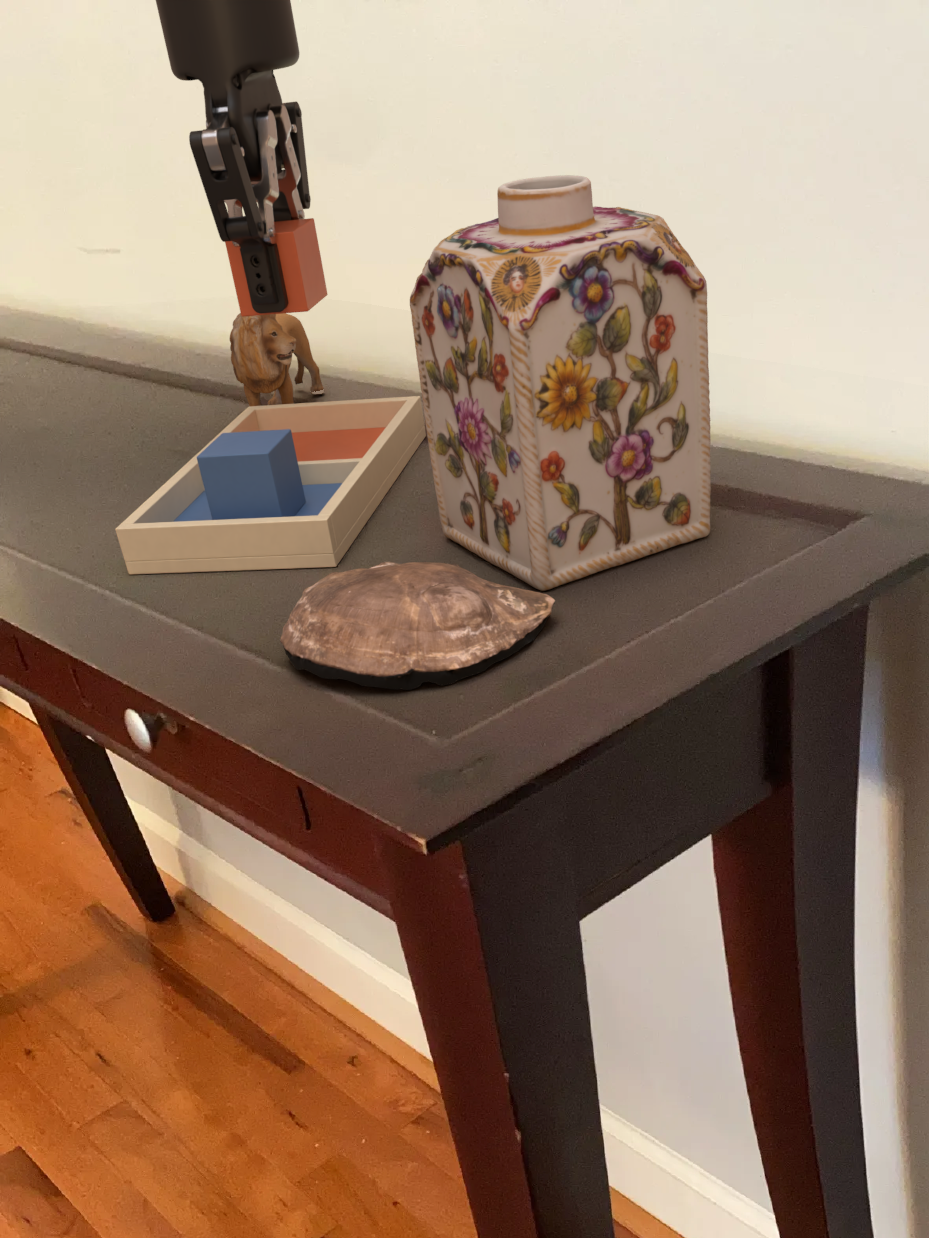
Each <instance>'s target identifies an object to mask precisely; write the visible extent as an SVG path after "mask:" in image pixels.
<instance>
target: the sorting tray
mask: <svg viewBox="0 0 929 1238" xmlns="http://www.w3.org/2000/svg"><path fill="white" fill-rule="evenodd" d="M284 429H291V432H292V437H293V442H294V447H295V452H296V457H297V461H298V466H299V471H300V476H301V481H302V486H303V490H304V495H305V500H306V502H305V503H304V505H303V506H302V507H301V508H300V510H299V511H298V512H297V513H296V515H295V516H293V517H270V518H248V519H225V520H212V516H211V512H210V508H209V504H208V501H207V497H206V493H205V489H204V485H203V481H202V477H201V473H200V469H199V465H198V461H197V456H198V455H199V454H200V453H201V452H202V451H204V450H205V449H206V448H207V447H208V446H209V445H210V444H211V443H212V442H213V441H214V440H215V439H217V438H218V437H219V436H220V435H221V434H222V433H233V432H250V431H267V430H284ZM426 437H427V431H426V424H425V417H424V410H423V403H422V396H420V395H412V396H395V397H381V398H364V399H348V400H347V399H346V400H332V401H316V402H314V401H313V402H301V403H294V404H281V405H268V404H267V405H262V406H249V405H248V406H247V407H246V408H245V409H244V410H243V411H241V413H240V414H239V415H237V416H236V417H235V418H234V419H233V420H232V421H231V422H230V423H228V424H227V426H226V427H224V428H223V429H222V430H221V431H220V432H219V433H218V434H217V435H216V436H214V438H212V439H211V440H210V441H209V442H208V443H207V444H206V445H205V446H204V447H203V448H201V450H199V452H197V453H196V454H195V455H194V456H193V457H192V458H191V459H190V460H188V461H187V463H185V464H184V465H183V466H182V467H181V468H180V469H178V471H176V473H174V474H173V475H172V476H171V477H170V478H169V479H168V480H167V481H165V483H164V484H163V485H161V486H160V487H159V488H158V489H157V490H156V491H155V492H153V493H152V495H150V497H148V498H147V499H146V500H145V501H144V502H143V503H142V504H141V505H139V506H138V507H137V508H136V509H135V510H134V511H133V512H132V513H131V514H129V515H128V516H127V518H126V519H124V520H123V521H122V522H121V523H119V525H118V526H117V527H115V533H116V536H117V540H118V543H119V547H120V551H121V553H122V557H123V559H124V562H125V566H126V570H127V573H128V575H151V574H178V573H179V574H181V573H207V572H230V571H231V572H233V571H235V572H236V571H257V570H258V571H260V570H261V571H262V570H264V571H265V570H289V569H315V568H317V569H318V568H336V567H338V565H339V563H340V562H341V560H342V559H343V558H344V556H345V555H346V553H347V552H348V551H349V549H350V547H351V546H352V544H353V543H354V542H355V540H356V539H357V537H358V536H359V534H360V533H361V531H362V530H363V529H364V527H365V525H366V524H367V522H368V521H369V520H370V518H372V516H373V514H374V513H375V512H376V509H377V508H378V507H379V505H380V504H381V502H382V501H383V499H384V498H385V497H386V495H387V493H388V492H389V491H390V489H391V488H392V486H393V485H394V483H395V482H396V480H397V479H398V477H399V476H400V475H401V473H402V471H403V470H404V469H405V467H406V466H407V465H408V463H409V461H410V460H411V459H412V457H413V456H414V454H416V453H415V452H416V451H417V450H418V449H419V447H420V446H421V444H422V443H423V441H424V440H425V438H426Z"/></svg>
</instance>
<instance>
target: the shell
mask: <svg viewBox="0 0 929 1238" xmlns="http://www.w3.org/2000/svg"><path fill="white" fill-rule="evenodd" d="M301 594H302V595H301V597H300V598H299V599H298V600H297V602H296V603H295V605H294V607H293V609H292V610H291V612H290V614H289V617H288V619H287V621H286V623H285V624H284V626H283V627H282V633H281V635H280V638H279V641H280V643H281V644H282V646H283V651H284V652H285V655H286V656H287V658H288V660H289V662H290V663H291V665H292V666H293V668H294V669H295V670H297V671H299V670H301V671H302V670H305V671H307V672H309V673H311V674H313V675H315V676H318V677H319V678H320V679H328V680H338V679H340V680H345V681H348V682H351V683H354V684H357V685H359V686H361V687H367V688H369V687H371V688H378V689H387V690H398V691H399V690H402V691H403V690H404V691H406V690H407V691H411V690H415V689H417V688H419V687H421V686H422V684H423V683H429V682H430V683H432V684H437V685H438V686H447V685H452V684H451V683H453V684H454V683H456V682H457V681H462V680H463V679H465V678H466V677H472V676H473V675H474V676H477V675H478V674H481V673H482V672H486V670H487V669H488V668H490V666H493V665H494V664H496V663H498V662H502V661H503V660H505V659H507V658H509V657H511V656H512V655H514V654H515V653H518V652H519V651H520V650H521V649H522V648H524V647H525V645H528V644H529V643H532V642H534V641H535V640H536V638H537V636H538V635H539V634H540V632H541V631H542V630H543V628H544V627H545V625H546V623H547V621H548V618H549V617H550V616H551V615H552V612H553V611H552V610H553V608H554V605H555V603H556V600H555V599H554V598H553V596H550V595H549V594H547V593H544V592H543V593H542V592H541V591H540V592H539V591H534V590H528V589H524V588H519V587H516V586H508V585H504V584H499V583H495V582H493V581H490V580H486V579H484V578H481V577H479V576H477V575H476V574H474V573H473V572H472V571H469V570H468V569H465V568H463V567H461V566H459V564H457V563H444V562H429V561H411V562H404V563H397V562H395V561H382V562H380V563H379V564H378V563H377V564H375V565H373V566H371V567H367V568H365V567H359V568H355V569H349V570H345V571H341V572H339V571H332V572H330V573H328V574H327V575H326V576H324V577H322V578H320V579H319V580H318V581H316V582H315V583H314V584H312V585H311V586H308V587H306V588H304V589H303V591H302V593H301Z"/></svg>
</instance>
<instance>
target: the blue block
mask: <svg viewBox="0 0 929 1238" xmlns="http://www.w3.org/2000/svg"><path fill="white" fill-rule="evenodd" d="M197 461H198V465H199V469H200V473H201V477H202V481H203V485H204V489H205V493H206V497H207V501H208V504H209V508H210V512H211V516H212V520H225V519H248V518H270V517H293V516H295V515H296V513H297V512H298V511H299V510H300V508H301V507H302V506H303V505H304V503H305V502H306V500H305V495H304V490H303V486H302V481H301V476H300V471H299V466H298V461H297V457H296V452H295V447H294V442H293V437H292V432H291V429H284V430H267V431H250V432H233V433H222V434H221V435H220V436H219V437H218V438H217V439H215V440H214V441H213V442H212V443H211V444H210V445H209V446H208V447H207V448H206V449H205V450H204V451H202V452H201V453H200V454H199V455H198V456H197Z"/></svg>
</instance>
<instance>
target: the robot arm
mask: <svg viewBox="0 0 929 1238" xmlns="http://www.w3.org/2000/svg"><path fill="white" fill-rule="evenodd" d="M155 3H156V4H155V5H156V8H157V12H158V17H159V21H160V25H161V30H162V34H163V40H164V43H165V48H166V52H167V56H168V61H169V66H170V70H171V72H172V74H173V76H174V77H175V78H177V79H178V80H180V81H189V82H191V81H197V80H198V81H199V82H200V83H201V84H202V88H203V97H204V98H203V99H204V112H205V127H206V128H205V129H201V130H192V131H190V132H189V136H188V139H189V147H190V149H191V153H192V156H193V159H194V163H195V165H196V168H197V172H198V174H199V177H200V181H201V183H202V186H203V190H204V193H205V196H206V199H207V202H208V205H209V208H210V211H211V214H212V217H213V220H214V224H215V227H216V230H217V233H218V235H219V238H220V240H221V242H224V243H225V242H227V241H232V243H233V245H234V246H235V247H241V248H240V252H241V257H242V262H243V266H244V271H245V276H246V280H247V285H248V290H249V294H250V299H251V304H252V307H253V309H254V310H255V311H256V312H257V313H273V312H281V311H283V310H284V309H285V308H286V307H287V306H288V297H287V292H286V287H285V282H284V277H283V272H282V266H281V261H280V256H279V251H278V246H277V244H274V243H275V238H276V237H275V236H276V232H275V226H274V222H277V221H288V220H299V219H306V217H305V216H306V215H305V211H304V210H309V209H310V208H311V200H312V199H311V195H310V185H309V184H310V183H309V176H308V166H307V155H306V148H305V138H304V137H305V136H304V128H303V119H302V117H303V116H302V115H303V113H302V109H301V107H300V104H299V103H298V101H289V102H288V101H287V102H283V99H282V95H281V92H280V90H279V87H278V84H277V80H276V76H275V74H274V71H276V70H281V69H285V68H289V67H292V66H294V65H296V63H298V61H299V59H300V48H299V47H300V46H299V42H298V37H297V31H296V24H295V20H294V13H293V8H292V1H291V0H155ZM243 213H244V214H243Z"/></svg>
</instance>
